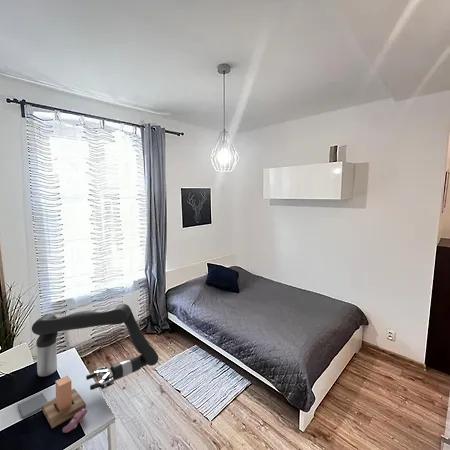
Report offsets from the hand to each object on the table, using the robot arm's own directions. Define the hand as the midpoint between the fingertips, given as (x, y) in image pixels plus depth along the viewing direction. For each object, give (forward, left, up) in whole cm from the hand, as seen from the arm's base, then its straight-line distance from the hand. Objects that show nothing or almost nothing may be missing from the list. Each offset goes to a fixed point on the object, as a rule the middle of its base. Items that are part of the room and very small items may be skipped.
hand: (88, 382), depth 126 cm
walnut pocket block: (-2, -10, -9) cm, 14 cm away
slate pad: (-15, -19, -9) cm, 26 cm away
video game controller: (+11, -10, -9) cm, 17 cm away
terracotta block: (-2, -10, -9) cm, 14 cm away
